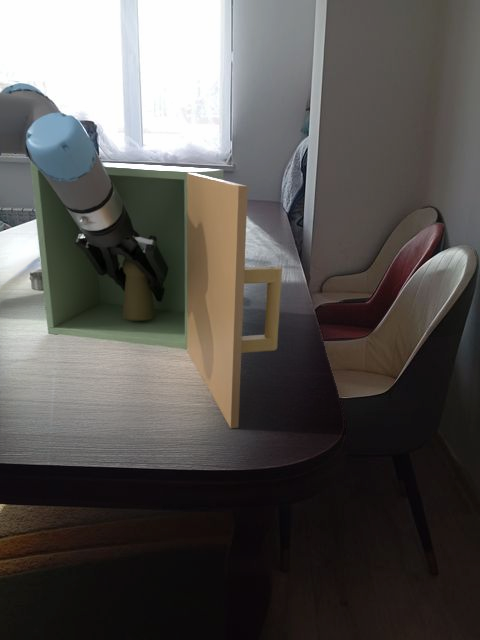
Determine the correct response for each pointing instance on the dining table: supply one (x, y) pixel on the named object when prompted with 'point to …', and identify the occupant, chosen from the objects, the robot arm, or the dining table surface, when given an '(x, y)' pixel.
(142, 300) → the olive brown pawn
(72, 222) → the cabinet
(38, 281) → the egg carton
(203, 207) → the cabinet door
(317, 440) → the dining table surface
